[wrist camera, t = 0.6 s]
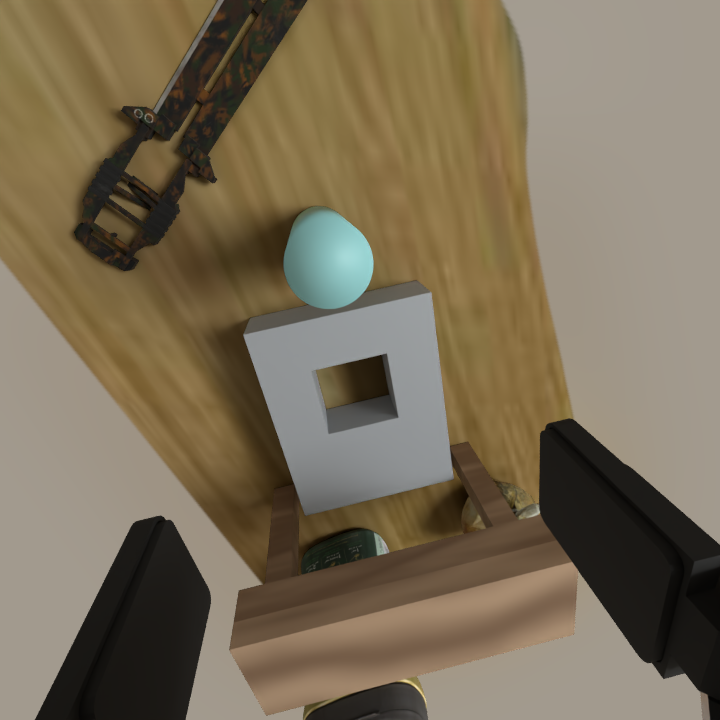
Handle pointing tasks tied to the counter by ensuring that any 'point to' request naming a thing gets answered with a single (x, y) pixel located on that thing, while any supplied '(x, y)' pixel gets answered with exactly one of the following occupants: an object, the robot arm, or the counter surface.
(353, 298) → the peg
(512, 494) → the onion
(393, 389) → the socket
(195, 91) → the knife
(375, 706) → the coffee jar
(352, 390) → the counter surface
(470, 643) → the open wooden frame
